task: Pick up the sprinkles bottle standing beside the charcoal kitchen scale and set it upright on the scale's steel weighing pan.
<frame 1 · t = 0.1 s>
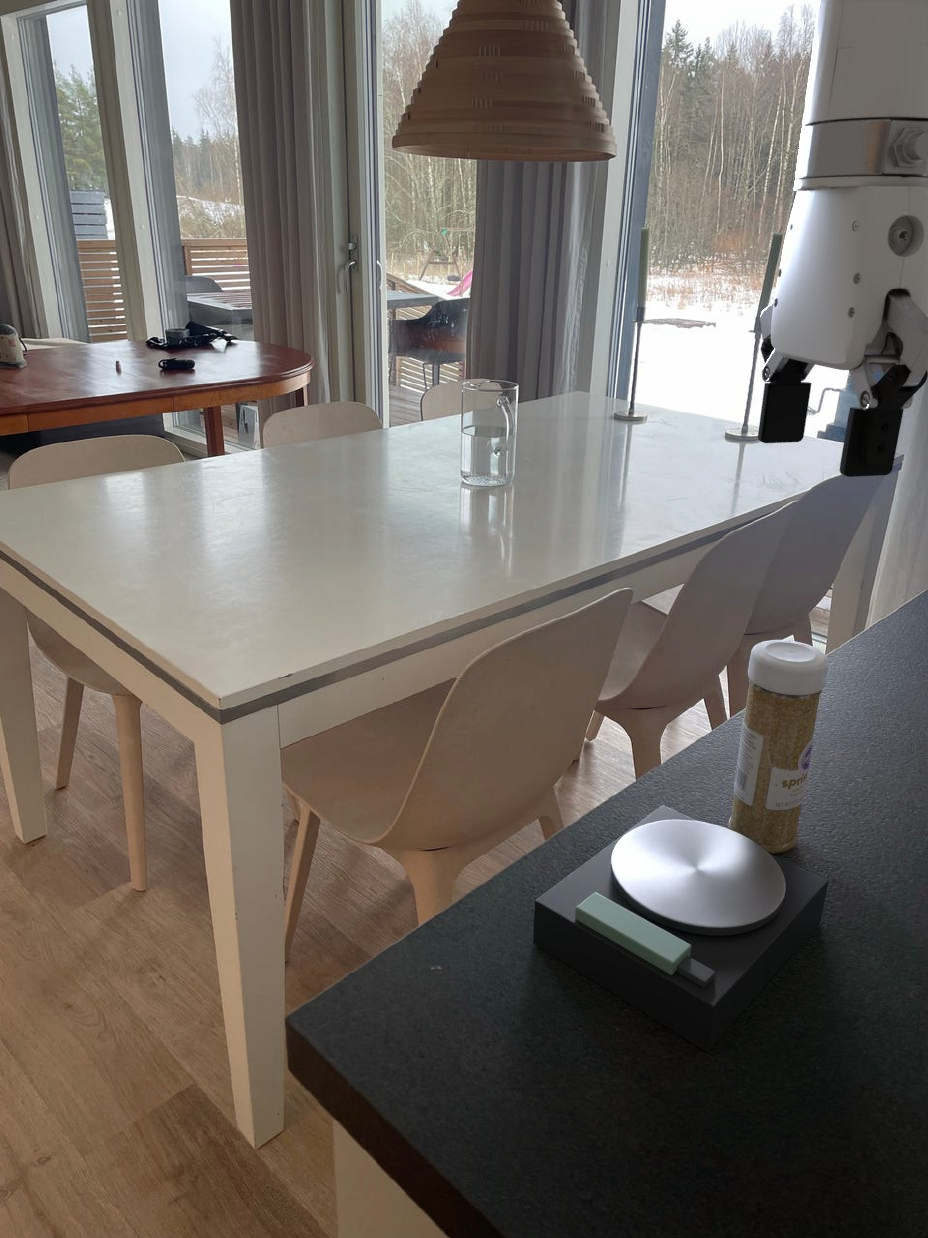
hand: (819, 456, 60), 24 cm above the kitchen counter, tool pointing down, fingers open, 9 cm apart
scale: (679, 932, 53), on the kitchen counter
scale pan: (696, 873, 53), point 4 cm above the kitchen counter, slide at 0.0 cm
sprinkles bottle: (760, 838, 62), on the kitchen counter
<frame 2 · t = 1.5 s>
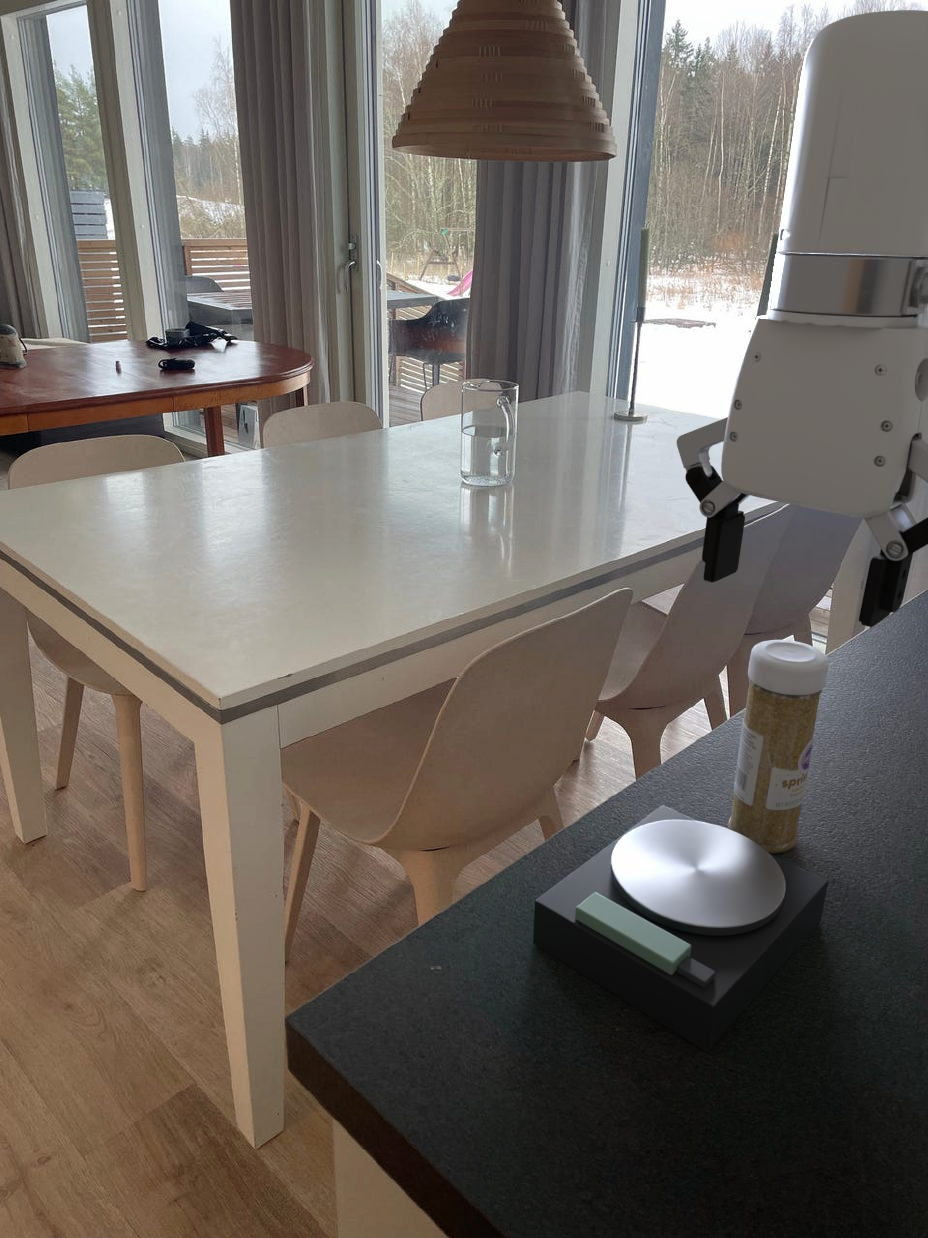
hand: (793, 597, 55), 17 cm above the kitchen counter, tool pointing down, fingers open, 9 cm apart
nothing on the kitchen counter moved.
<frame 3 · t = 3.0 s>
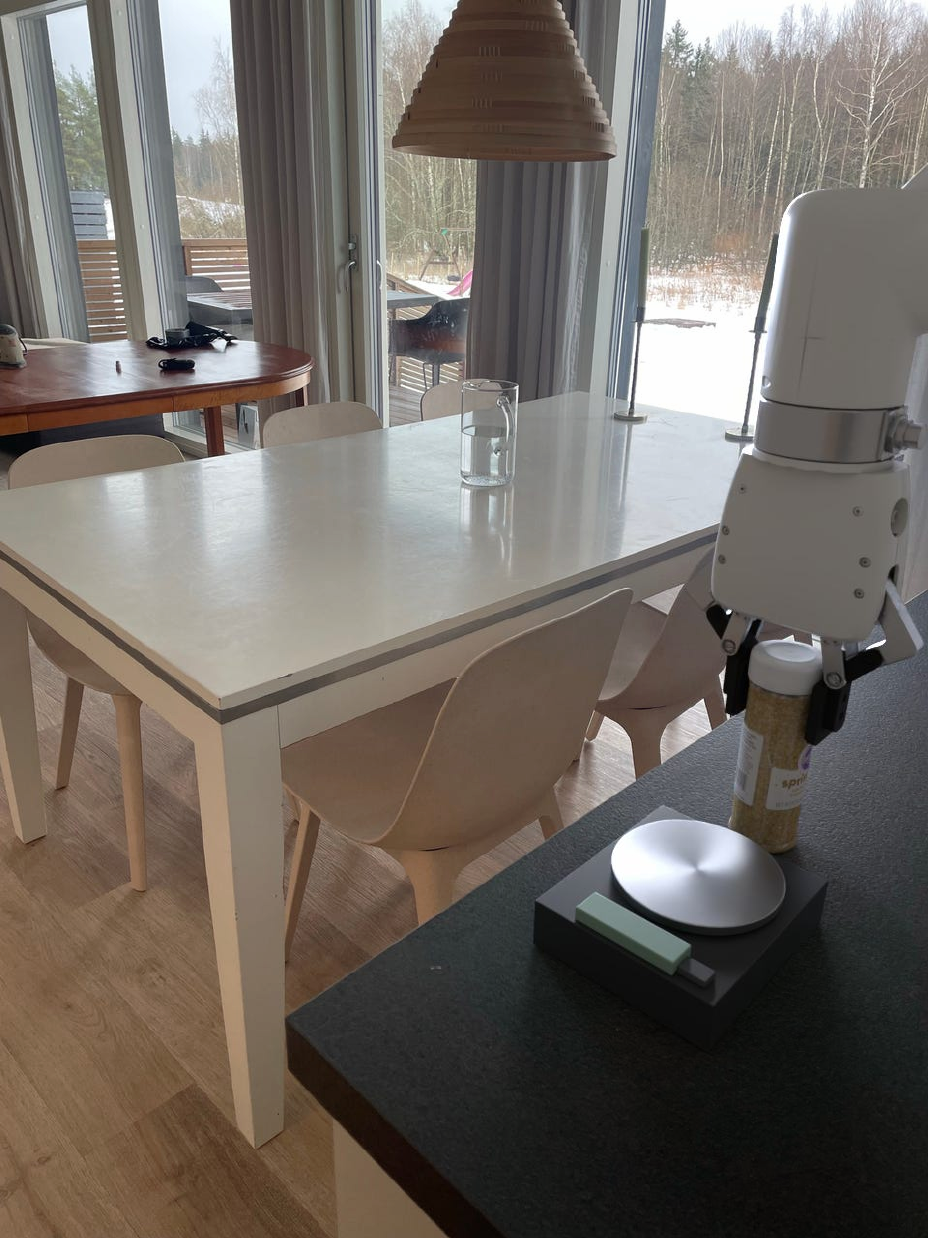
hand: (779, 719, 59), 9 cm above the kitchen counter, tool pointing down, fingers closed on sprinkles bottle, 4 cm apart
sprinkles bottle: (760, 838, 62), on the kitchen counter, touching gripper
everything else where it was.
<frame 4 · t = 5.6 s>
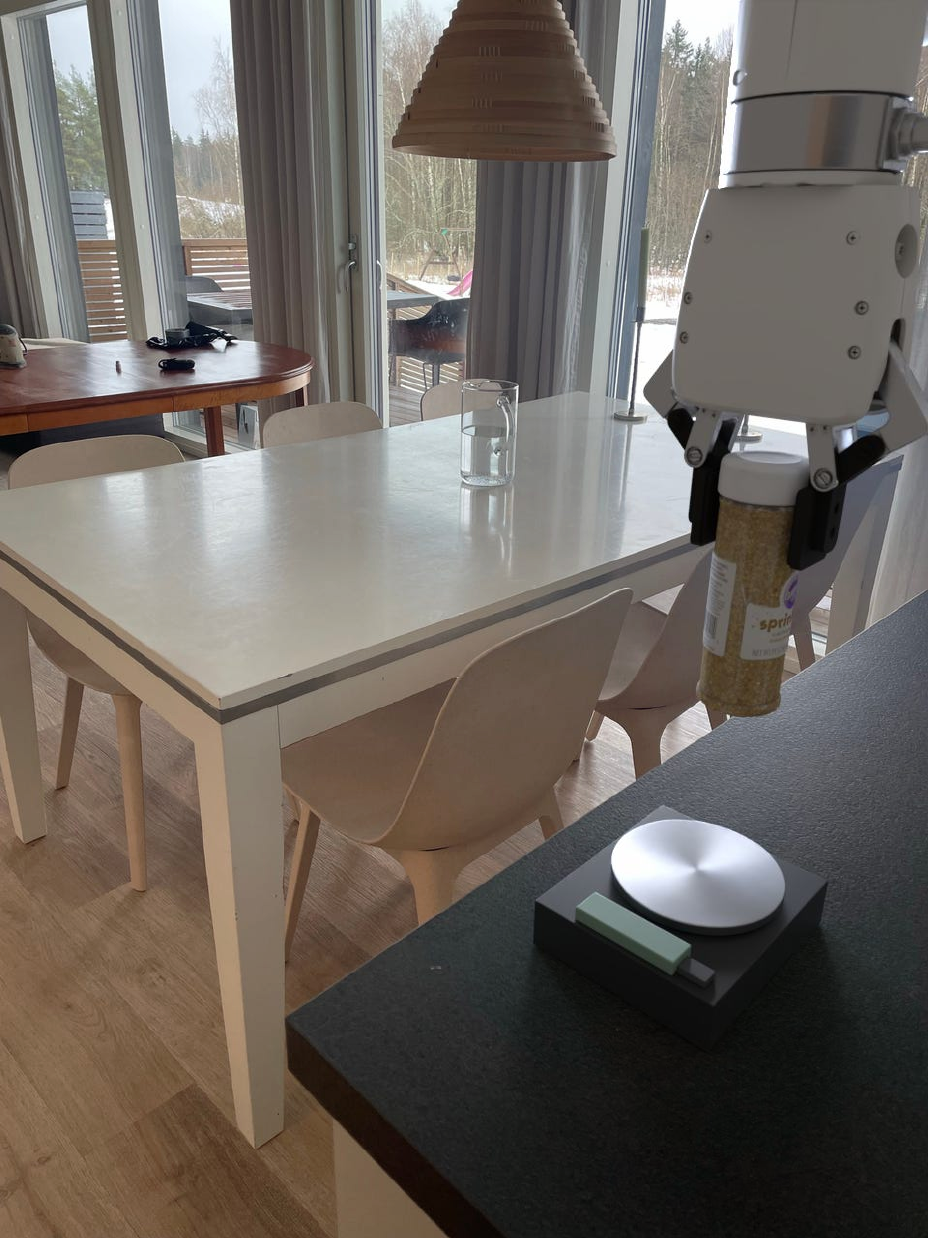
hand: (757, 547, 47), 22 cm above the kitchen counter, tool pointing down, fingers closed on sprinkles bottle, 4 cm apart
sprinkles bottle: (736, 704, 51), point 13 cm above the kitchen counter, touching gripper
everything else where it was.
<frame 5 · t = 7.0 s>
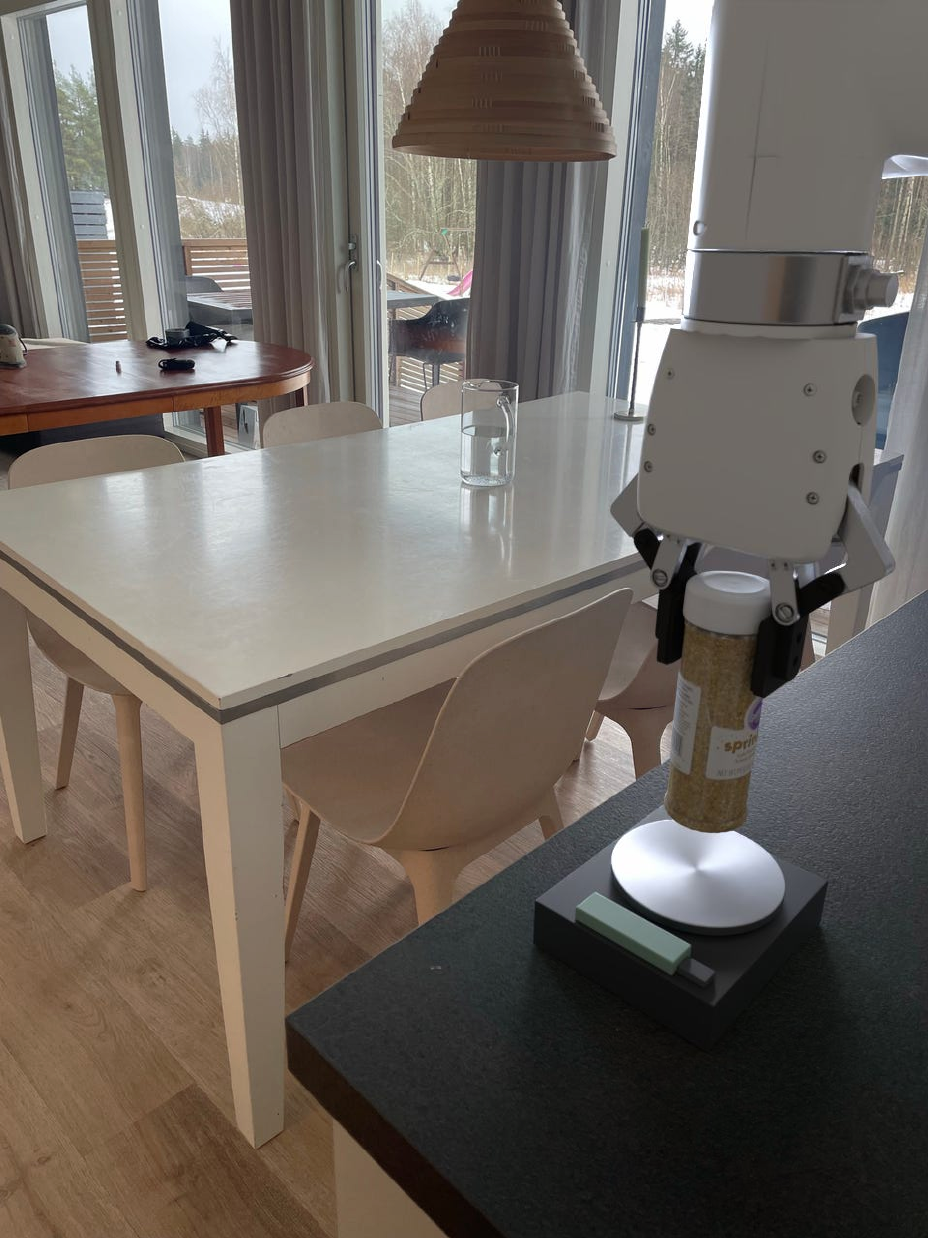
hand: (722, 668, 48), 16 cm above the kitchen counter, tool pointing down, fingers closed on sprinkles bottle, 4 cm apart
sprinkles bottle: (703, 815, 51), point 7 cm above the kitchen counter, touching gripper
everything else where it was.
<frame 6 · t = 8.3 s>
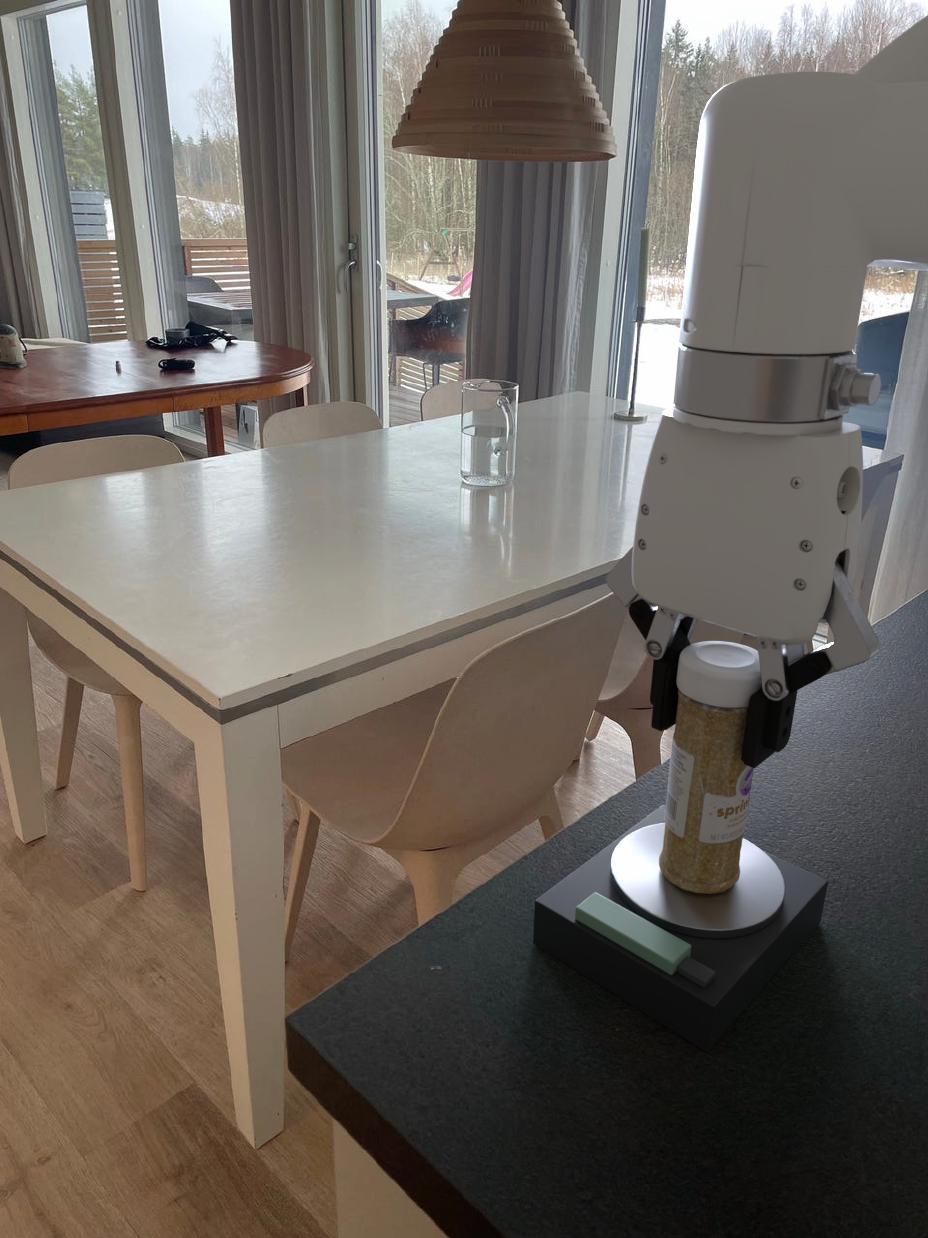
hand: (715, 735, 49), 12 cm above the kitchen counter, tool pointing down, fingers closed on sprinkles bottle, 4 cm apart
scale pan: (696, 875, 53), point 3 cm above the kitchen counter, slide at -0.2 cm, touching sprinkles bottle
sprinkles bottle: (697, 874, 53), point 3 cm above the kitchen counter, touching gripper, scale pan
when the fingers open (12 cm above the kitchen counter, at t = 8.3 s): sprinkles bottle stays where it is, resting on scale pan.
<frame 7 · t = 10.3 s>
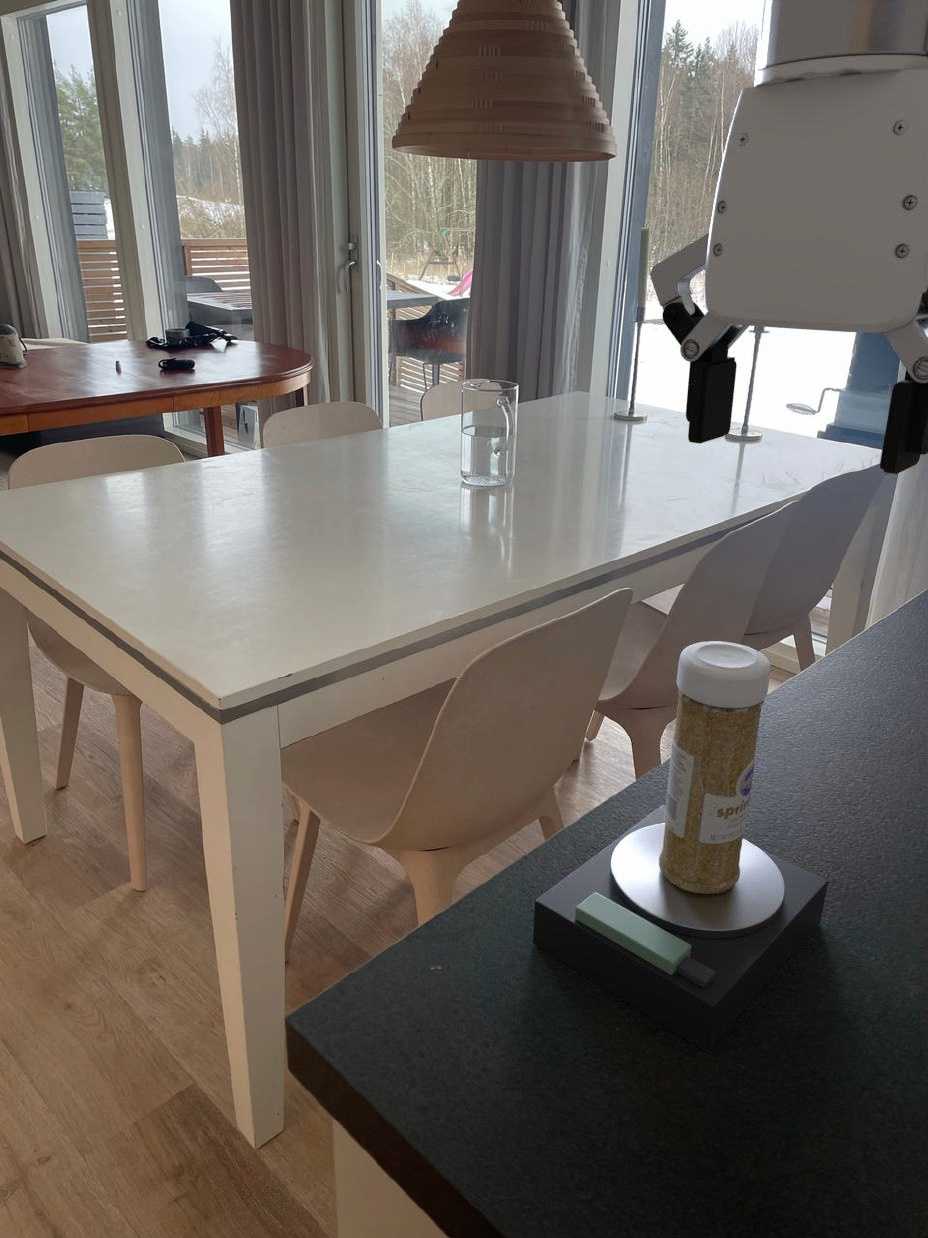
hand: (797, 452, 45), 27 cm above the kitchen counter, tool pointing down, fingers open, 9 cm apart
sprinkles bottle: (697, 874, 53), point 3 cm above the kitchen counter, touching scale pan
everything else where it was.
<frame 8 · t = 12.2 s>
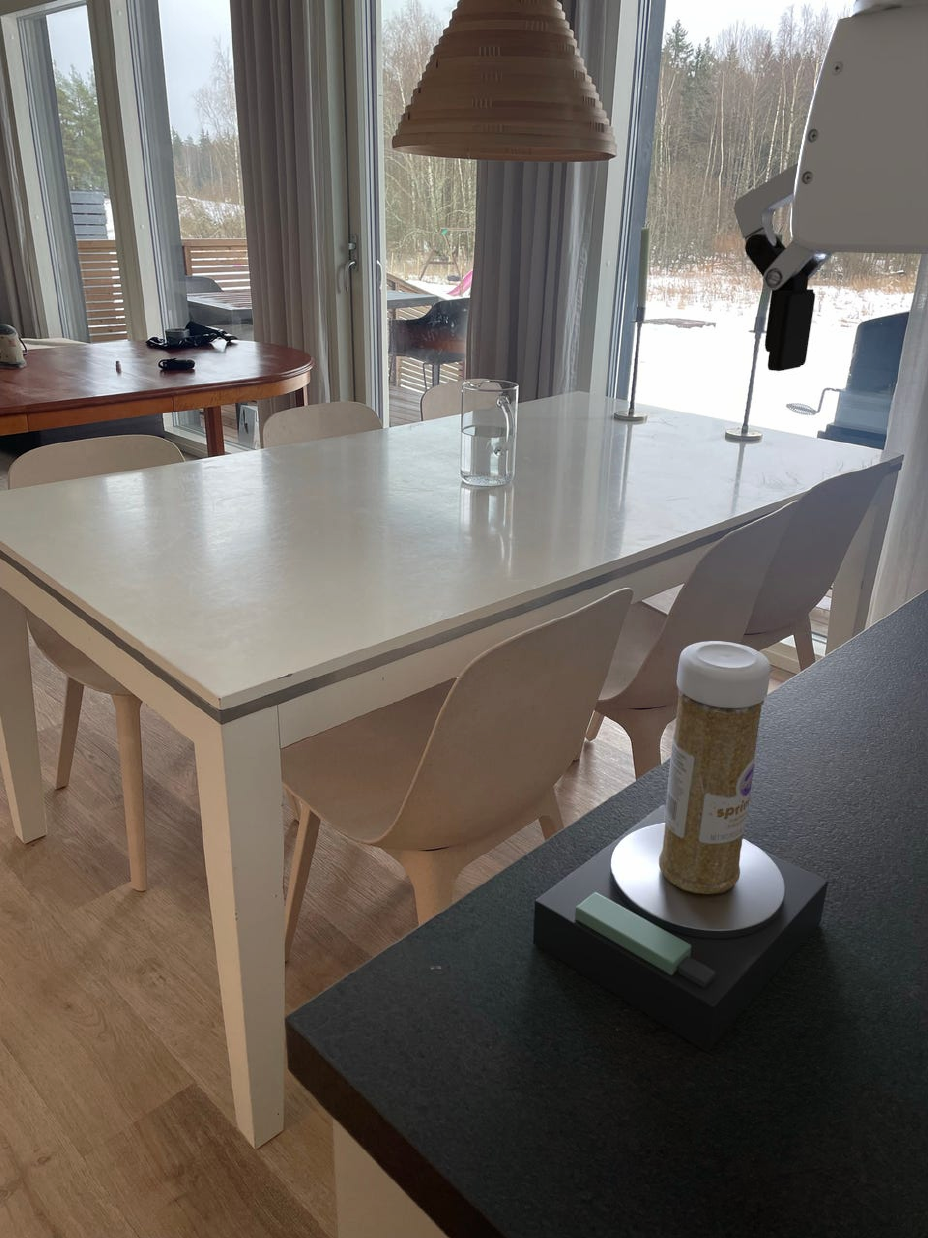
hand: (876, 377, 47), 30 cm above the kitchen counter, tool pointing down, fingers open, 9 cm apart
nothing on the kitchen counter moved.
at the end: sprinkles bottle 0.1 cm from the target spot on the scale, point 3.4 cm above the scale's base; sprinkles bottle tilted 0°; the gripper is holding nothing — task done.
